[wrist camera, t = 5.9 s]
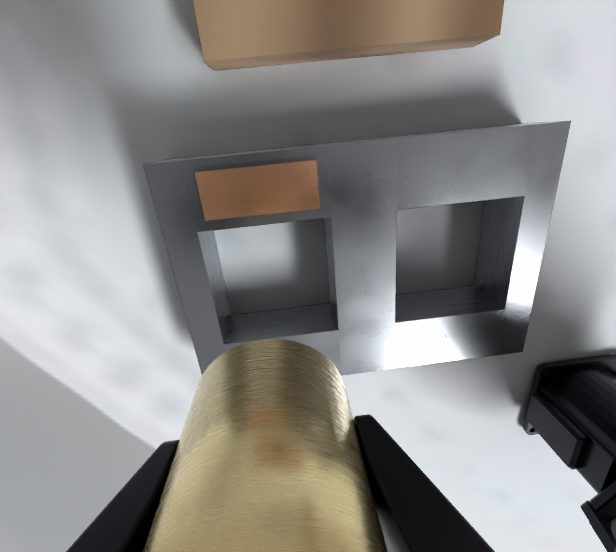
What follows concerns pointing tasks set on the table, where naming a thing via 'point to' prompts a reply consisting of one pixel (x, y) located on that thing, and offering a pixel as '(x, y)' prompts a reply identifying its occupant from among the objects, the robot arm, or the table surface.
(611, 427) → the robot arm
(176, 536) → the brass peg
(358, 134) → the table surface
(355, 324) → the plate
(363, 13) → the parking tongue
